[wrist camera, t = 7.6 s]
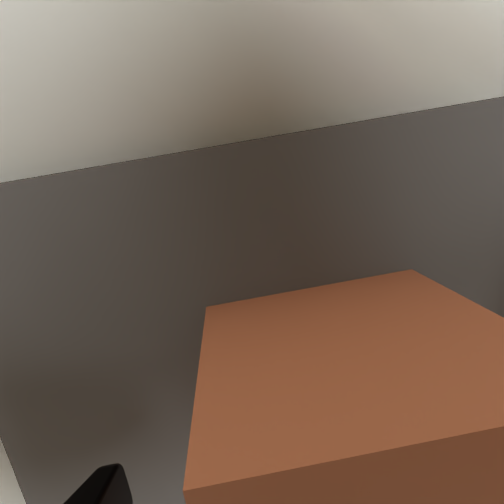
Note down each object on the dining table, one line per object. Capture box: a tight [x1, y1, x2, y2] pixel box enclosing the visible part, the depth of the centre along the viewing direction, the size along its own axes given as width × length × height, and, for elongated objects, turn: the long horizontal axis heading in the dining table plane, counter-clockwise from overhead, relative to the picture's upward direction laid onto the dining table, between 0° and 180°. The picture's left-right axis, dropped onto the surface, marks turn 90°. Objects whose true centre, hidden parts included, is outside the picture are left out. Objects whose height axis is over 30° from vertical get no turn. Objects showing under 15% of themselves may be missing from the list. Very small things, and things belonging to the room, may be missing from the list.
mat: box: [0, 97, 504, 504], centre depth 9 cm, size 16×12×1 cm
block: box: [183, 269, 504, 504], centre depth 7 cm, size 5×5×5 cm
